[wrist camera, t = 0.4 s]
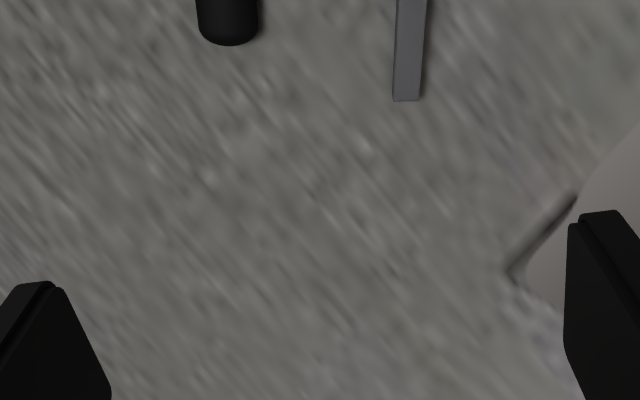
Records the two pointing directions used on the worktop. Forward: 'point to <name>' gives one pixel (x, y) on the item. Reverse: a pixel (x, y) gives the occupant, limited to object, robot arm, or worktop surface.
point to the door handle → (242, 25)
